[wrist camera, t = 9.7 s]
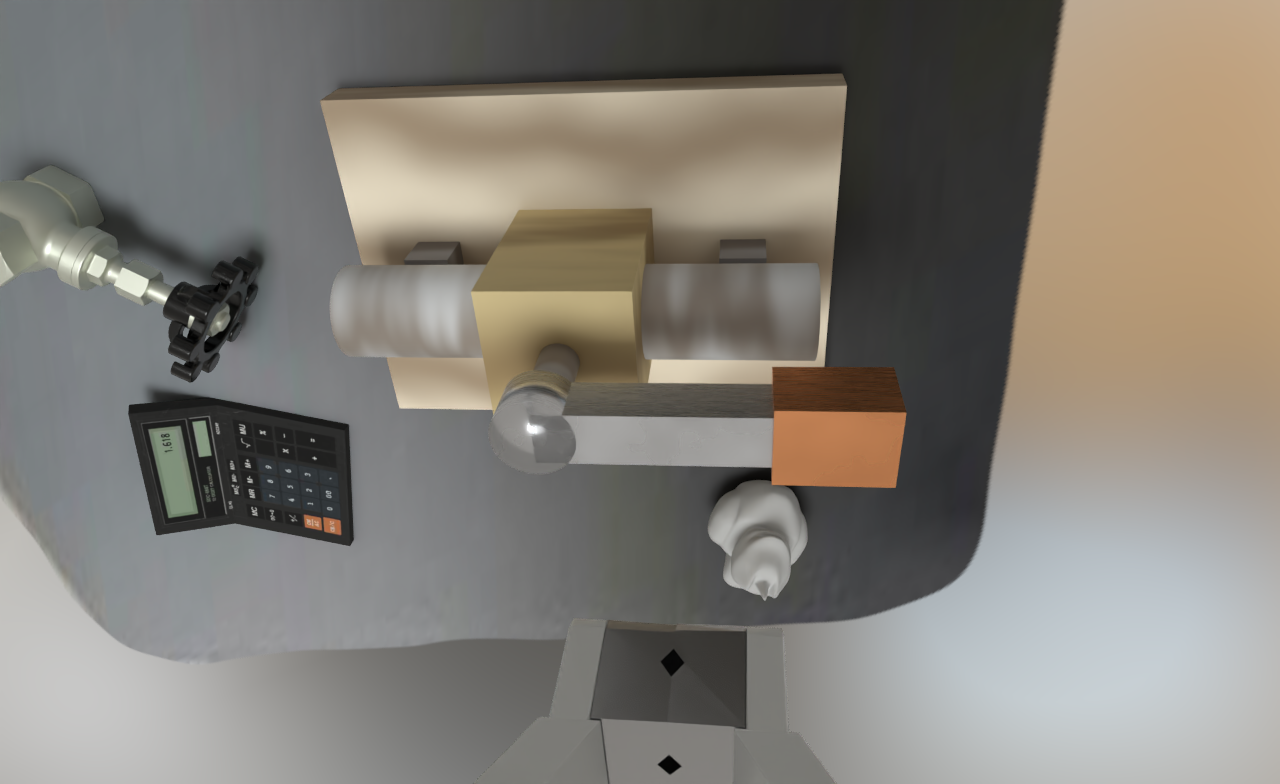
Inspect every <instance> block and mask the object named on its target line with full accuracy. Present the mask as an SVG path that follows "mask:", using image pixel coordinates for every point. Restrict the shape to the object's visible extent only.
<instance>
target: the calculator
mask: <svg viewBox="0 0 1280 784" xmlns="http://www.w3.org/2000/svg"><path fill="white" fill-rule="evenodd" d="M128 414H129V419H130V423H131V427H132V432H133V436H134V440H135V445H136V449H137V453H138V458H139V462H140V466H141V471H142V475H143V479H144V484H145V488H146V492H147V496H148V501H149V505H150V509H151V514H152V518H153V522H154V527H155V531H156V535H162V534H169V533H175V532H182V531H188V530H195V529H201V528H208V527H215V526H221V525H228V524H234V523H236V524H241V525H246V526H251V527H256V528H261V529H266V530H271V531H276V532H282V533H287V534H292V535H297V536H302V537H307V538H312V539H317V540H322V541H327V542H332V543H337V544H342V545H347V546H350V545H351V543H352V542H353V540H354V538H353V515H352V492H351V469H350V446H349V425H348V424H343V423H338V422H333V421H328V420H323V419H318V418H312V417H307V416H302V415H297V414H292V413H287V412H282V411H277V410H271V409H266V408H261V407H256V406H251V405H246V404H241V403H236V402H230V401H225V400H220V399H215V398H205V399H193V400H181V401H169V402H157V403H145V404H133V405H129V413H128Z"/></svg>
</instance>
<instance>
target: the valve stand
mask: <svg viewBox="0 0 1280 784" xmlns="http://www.w3.org/2000/svg"><path fill="white" fill-rule="evenodd" d="M846 93H847V84H846V82H845V79H844V77H843V74H809V75H775V76H742V77H708V78H675V79H641V80H608V81H574V82H541V83H507V84H474V85H440V86H407V87H373V88H340V89H337V90H336V91H334V92H333V93H331V94H330V95H328V96H326V97H325V98H323V99H322V100H320V102H321V106H322V110H323V114H324V118H325V122H326V126H327V129H328V133H329V137H330V141H331V145H332V149H333V153H334V157H335V160H336V164H337V168H338V172H339V176H340V180H341V184H342V187H343V191H344V195H345V199H346V203H347V207H348V211H349V214H350V218H351V222H352V226H353V230H354V234H355V238H356V242H357V245H358V249H359V253H360V257H361V261H362V265H347V266H345V267H343V268H342V269H341V270H340V271H339V272H338V274H337V276H336V278H335V280H334V283H333V286H332V291H331V297H330V319H331V325H332V330H333V334H334V337H335V340H336V342H337V344H338V346H339V348H340V349H341V351H342V352H343V353H344V354H346V355H347V356H350V357H387V361H388V365H389V369H390V373H391V377H392V381H393V384H394V388H395V392H396V396H397V400H398V404H399V408H418V409H481V410H493V415H494V413H495V411H496V408H497V406H498V404H499V401H500V399H501V396H502V394H503V392H504V389H505V387H506V386H507V384H508V383H509V382H510V380H512V379H513V378H514V377H516V376H517V375H519V374H521V373H524V372H527V371H532V370H545V371H550V372H554V373H557V374H559V375H561V376H563V377H565V378H567V379H568V380H569V381H571V382H585V383H707V384H772V367H824V363H825V351H826V338H827V326H828V314H829V302H830V289H831V277H832V265H833V252H834V240H835V228H836V216H837V203H838V191H839V179H840V166H841V154H842V142H843V130H844V117H845V105H846Z"/></svg>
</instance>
